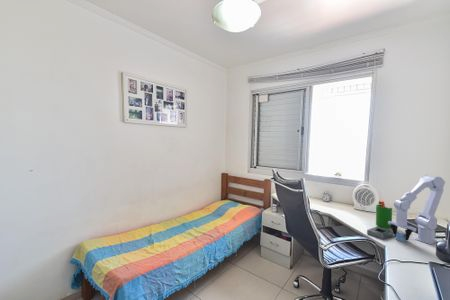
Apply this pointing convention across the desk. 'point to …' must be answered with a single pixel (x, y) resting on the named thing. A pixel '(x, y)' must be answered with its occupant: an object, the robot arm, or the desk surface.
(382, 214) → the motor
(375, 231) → the chassis
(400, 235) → the servo
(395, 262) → the desk surface
